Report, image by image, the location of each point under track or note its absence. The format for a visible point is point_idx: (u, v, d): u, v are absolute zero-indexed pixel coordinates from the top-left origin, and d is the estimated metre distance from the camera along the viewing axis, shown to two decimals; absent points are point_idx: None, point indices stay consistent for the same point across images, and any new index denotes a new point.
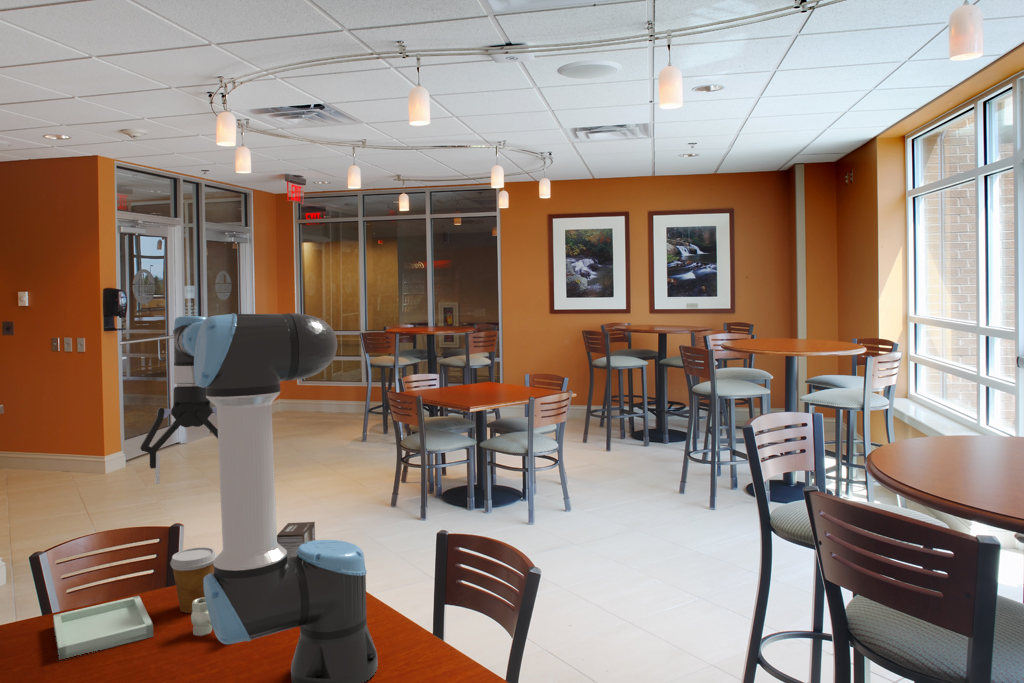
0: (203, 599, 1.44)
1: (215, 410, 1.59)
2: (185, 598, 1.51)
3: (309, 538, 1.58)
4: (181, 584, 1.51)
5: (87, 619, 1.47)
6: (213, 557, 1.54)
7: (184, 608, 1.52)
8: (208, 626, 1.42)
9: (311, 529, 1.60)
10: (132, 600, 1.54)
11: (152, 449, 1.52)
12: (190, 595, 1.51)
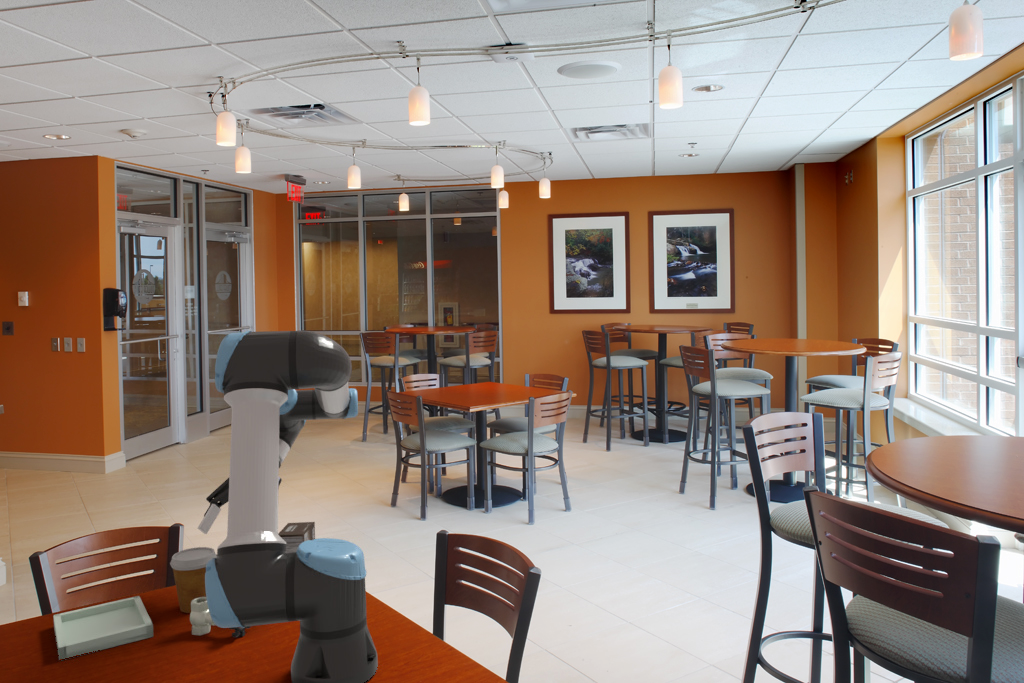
0: (202, 599, 1.44)
1: None
2: (185, 598, 1.51)
3: (309, 538, 1.58)
4: (181, 584, 1.51)
5: (87, 619, 1.47)
6: (213, 557, 1.54)
7: (184, 608, 1.52)
8: (207, 626, 1.42)
9: (311, 529, 1.60)
10: (132, 600, 1.54)
11: (212, 500, 1.70)
12: (190, 595, 1.51)
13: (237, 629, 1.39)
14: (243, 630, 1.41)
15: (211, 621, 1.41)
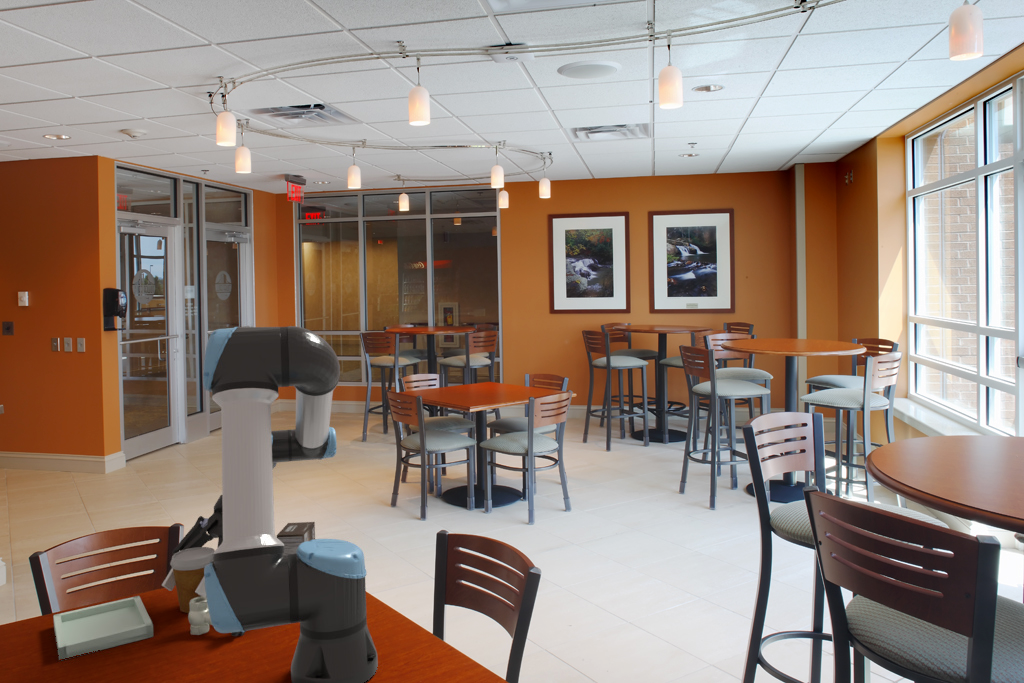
0: (200, 598, 1.44)
1: None
2: (185, 598, 1.51)
3: (309, 538, 1.58)
4: (181, 584, 1.51)
5: (87, 619, 1.47)
6: (213, 557, 1.54)
7: (184, 608, 1.52)
8: (206, 625, 1.43)
9: (311, 529, 1.60)
10: (132, 600, 1.54)
11: None
12: (190, 595, 1.51)
13: None
14: None
15: (210, 620, 1.41)
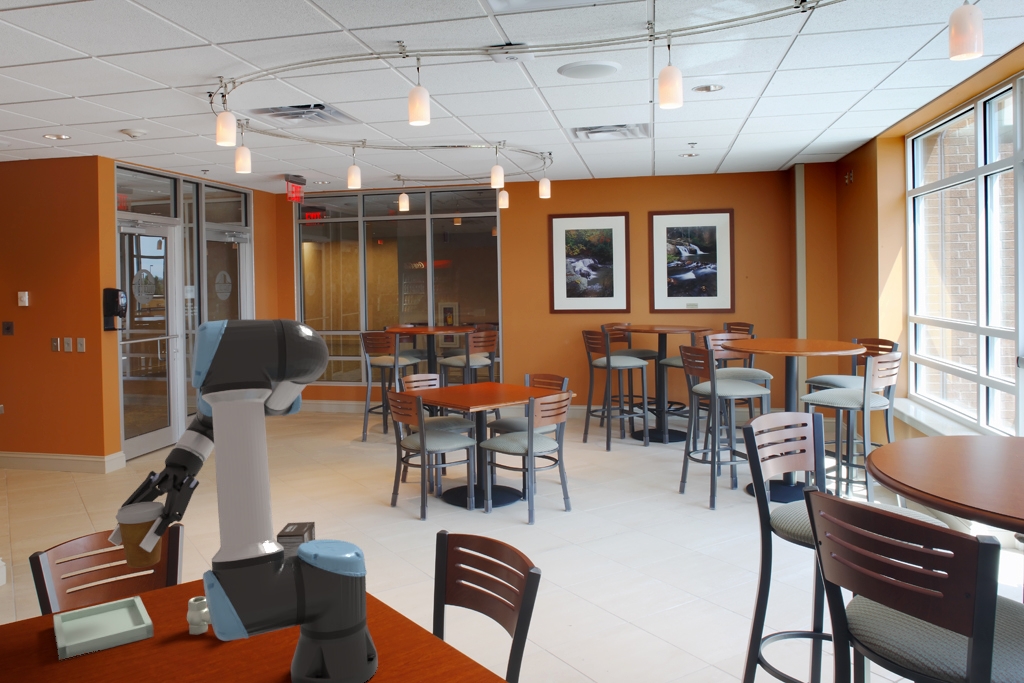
0: (198, 598, 1.45)
1: (187, 479, 1.54)
2: (131, 552, 1.46)
3: (309, 538, 1.58)
4: (127, 538, 1.46)
5: (87, 619, 1.47)
6: (161, 511, 1.49)
7: (131, 563, 1.47)
8: (204, 625, 1.43)
9: (311, 529, 1.60)
10: (132, 600, 1.54)
11: None
12: (136, 550, 1.46)
13: None
14: None
15: (209, 620, 1.41)
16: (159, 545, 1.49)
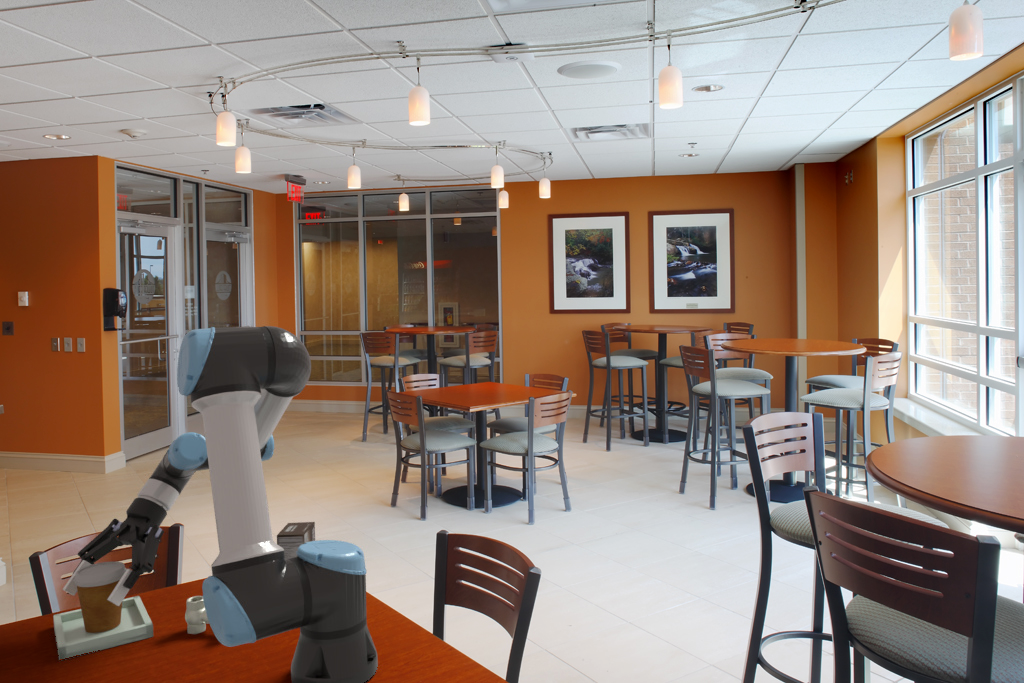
0: (196, 598, 1.45)
1: (150, 530, 1.48)
2: (89, 617, 1.40)
3: (309, 538, 1.58)
4: (85, 602, 1.40)
5: None
6: (121, 572, 1.43)
7: (89, 628, 1.41)
8: (203, 624, 1.43)
9: (311, 529, 1.60)
10: (132, 600, 1.54)
11: (84, 555, 1.48)
12: (94, 614, 1.40)
13: None
14: None
15: (207, 619, 1.42)
16: (119, 608, 1.44)
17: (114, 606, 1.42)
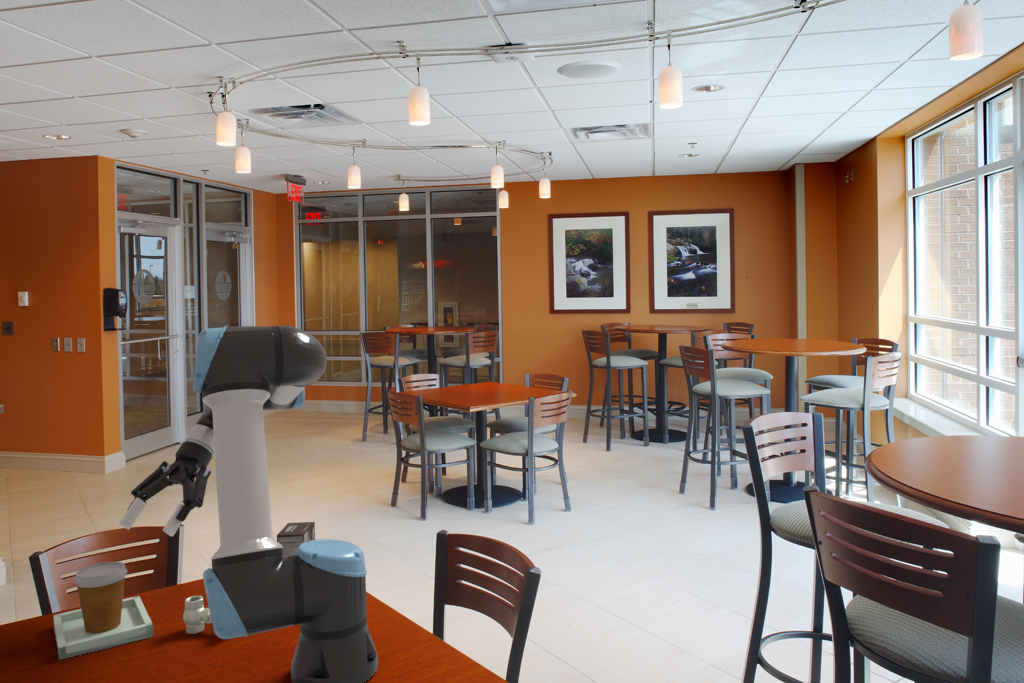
0: (195, 597, 1.45)
1: (199, 470, 1.60)
2: (89, 617, 1.40)
3: (309, 538, 1.58)
4: (85, 602, 1.40)
5: None
6: (121, 573, 1.43)
7: (89, 628, 1.41)
8: (201, 624, 1.43)
9: (311, 529, 1.60)
10: (132, 600, 1.54)
11: (137, 493, 1.60)
12: (94, 614, 1.40)
13: None
14: None
15: (206, 619, 1.42)
16: (119, 608, 1.44)
17: (114, 606, 1.42)
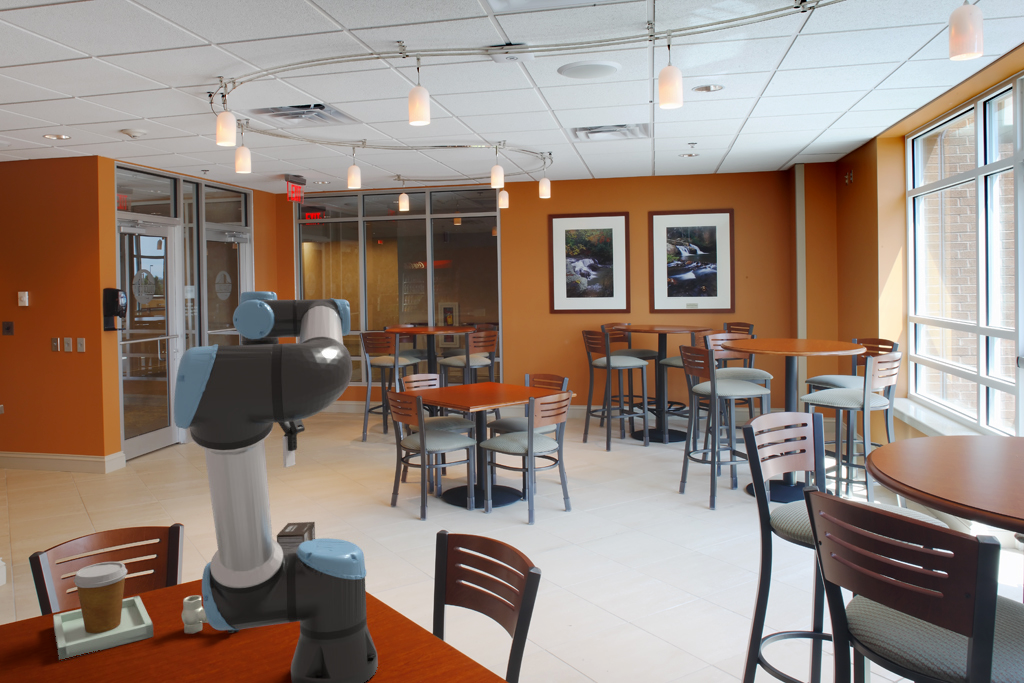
0: (193, 597, 1.45)
1: None
2: (89, 617, 1.40)
3: (309, 538, 1.58)
4: (85, 602, 1.40)
5: None
6: (121, 573, 1.43)
7: (89, 628, 1.41)
8: (200, 624, 1.43)
9: (311, 529, 1.60)
10: (132, 600, 1.54)
11: None
12: (94, 615, 1.40)
13: None
14: None
15: (205, 618, 1.42)
16: (119, 608, 1.44)
17: (114, 607, 1.42)
